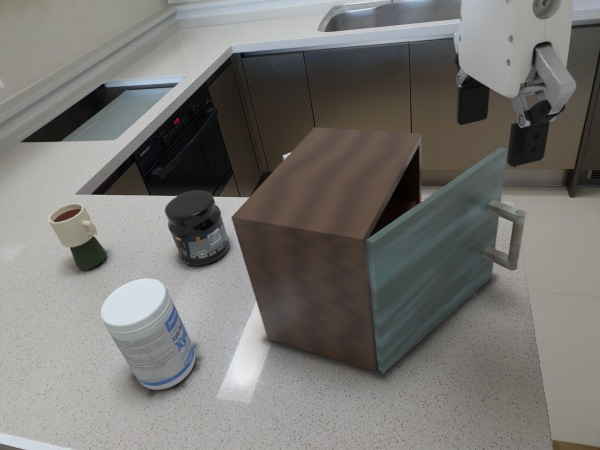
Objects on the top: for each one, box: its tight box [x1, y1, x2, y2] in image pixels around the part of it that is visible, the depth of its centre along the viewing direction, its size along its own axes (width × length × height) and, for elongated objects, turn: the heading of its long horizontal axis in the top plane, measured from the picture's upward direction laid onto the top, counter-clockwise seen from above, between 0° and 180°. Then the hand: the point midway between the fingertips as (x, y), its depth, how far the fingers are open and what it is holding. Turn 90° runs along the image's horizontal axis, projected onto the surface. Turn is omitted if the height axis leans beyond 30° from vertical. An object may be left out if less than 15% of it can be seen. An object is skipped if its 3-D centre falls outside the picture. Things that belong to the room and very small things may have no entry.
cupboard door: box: [366, 146, 527, 375], centre depth 62 cm, size 6×26×24 cm, turn 129°
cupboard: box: [230, 126, 422, 372], centre depth 72 cm, size 18×26×24 cm
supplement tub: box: [100, 277, 197, 391], centre depth 68 cm, size 10×10×15 cm
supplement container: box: [164, 189, 230, 266], centre depth 92 cm, size 10×10×12 cm
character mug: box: [47, 202, 108, 271], centre depth 95 cm, size 11×7×13 cm, turn 70°
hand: (496, 140), depth 45 cm, fingers open, 9 cm apart
